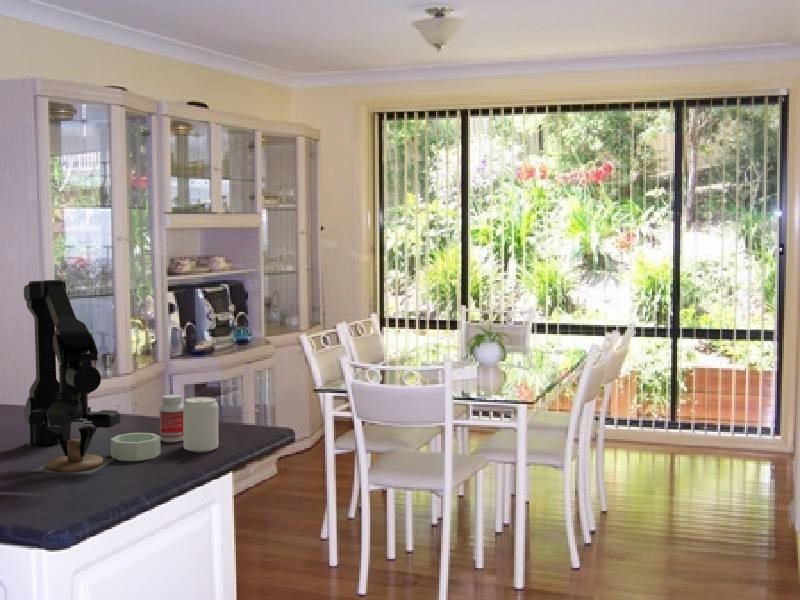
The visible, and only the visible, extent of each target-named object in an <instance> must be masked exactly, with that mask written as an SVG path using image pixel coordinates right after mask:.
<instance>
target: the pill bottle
mask: <svg viewBox="0 0 800 600" xmlns="http://www.w3.org/2000/svg"><path fill="white" fill-rule="evenodd" d="M182 402H183V396H182V395H181V394H165V395H162V403H163V404H162V405H160V406H159V436H160V442H164V443H179V441H180V442H182V441H183V442H184V439H183V405H184V403H182Z"/></svg>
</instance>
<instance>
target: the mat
mask: <svg viewBox="0 0 800 600" xmlns="http://www.w3.org/2000/svg"><path fill="white" fill-rule="evenodd" d="M102 458H103V457H102ZM115 460H116V459H114V458H107V457H106V458H103V464H102V465H101V466H100V467H97V468H95V469H91V470H86V471H78V472H57V471H52V470H49V469H48V468H47V463H46V464H44V465H41V466H40V467H38V468H36V469H35V470H33V471H31V472H32V473H49V474H53V473H54V474H70V475H72V474H73V475H92V474H94V473H95V472H97V471H98V470H101V469H102V468H104V467H106V466H107V465H109V464H110V463H112V462H113V461H114V462H115Z"/></svg>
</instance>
